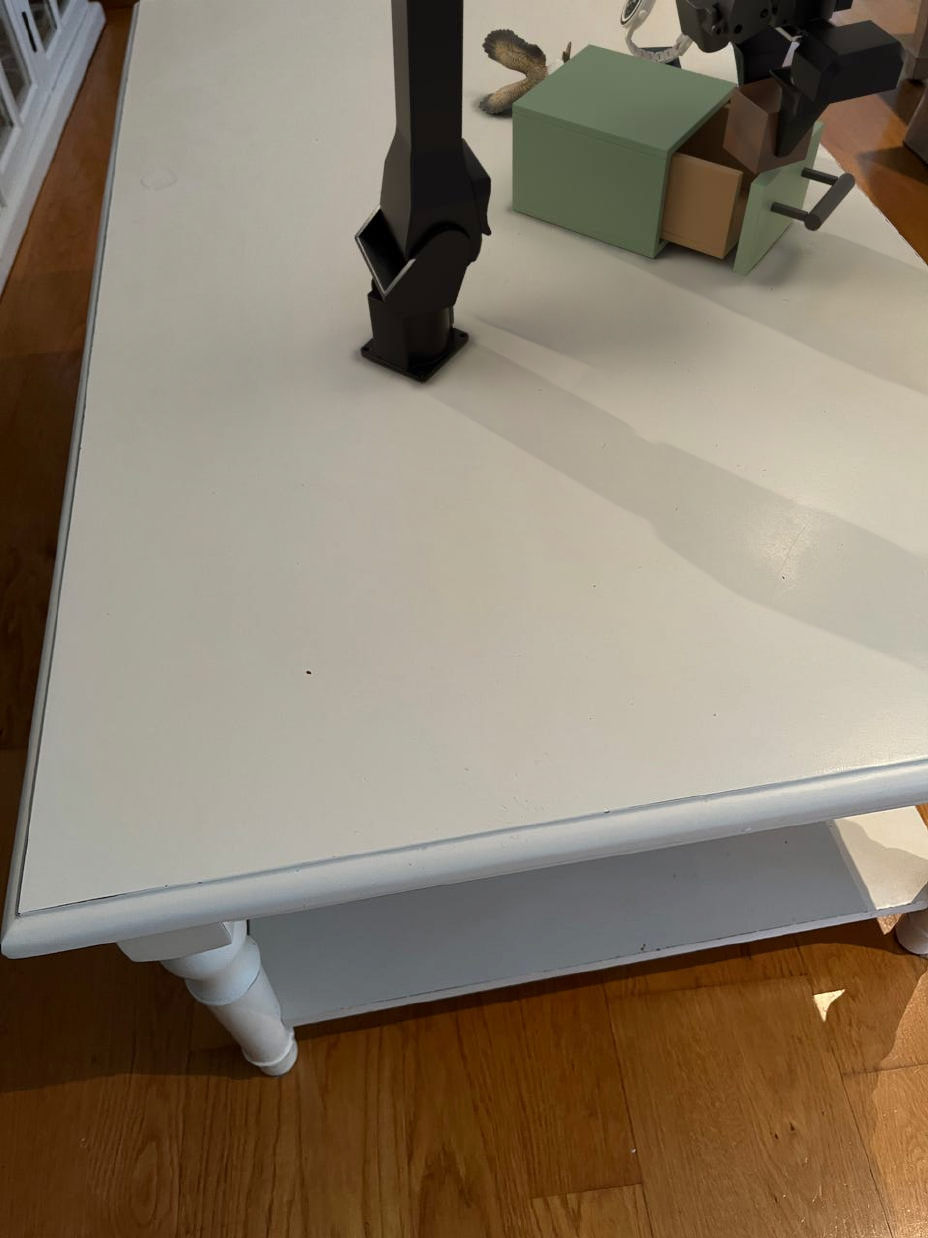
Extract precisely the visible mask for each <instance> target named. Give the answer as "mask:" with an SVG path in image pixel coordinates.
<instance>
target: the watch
mask: <svg viewBox="0 0 928 1238" xmlns="http://www.w3.org/2000/svg"><path fill="white" fill-rule="evenodd" d="M656 2H657V0H626V1H625V2H624V4H623V5H624V6H623V8H622V10H621V15H620V19H619V24H620V27H622V30H623V34H624V40H625V44H626V46H627V48H628V51H629V52H630V53H631V55H632V56H636V57H639V58H643V59H647V60H651V61H655V62H658V63H662V64H666V65H670V66H673V67H677V68H681V69H683V67H682V64H681V59H680V57H683V56H684V55H685V54H686V52H687V51H688V50H689V48H690V47H691V46H692V44H693V43H694V41H693V40H692V39H691V38H689V37H688V36H687V35H686V36H685V35H684V34H683V33H682V32H681V33H680V34H679V36H678V37H677V38H676V40H675V44H674V45H671V46H647V47H639V46H638V45H637V44H636V43H635V42H633V39H632V37H633V35H634V32H635V31H637V30H638V29H639V28H640V27H642V25H643V24H644V23H645V22H646V21H647V19H648V17H649V16H650V14H651V12H652V10H653V8H654V6H655V4H656Z"/></svg>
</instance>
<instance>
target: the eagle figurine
mask: <svg viewBox="0 0 928 1238" xmlns="http://www.w3.org/2000/svg"><path fill="white" fill-rule="evenodd" d="M483 40H484V42H483V43H482V44H481V47H482V48H483V51H484V53H486V54H487V58H489V59H490V60H492V61H494V62H496V63H498V64H500V65H502V67H504V68H506V69H508V70H511V71H516V72H518V73H520V74H523V75H524V76H525V77H524V78H523V79H521V80H519V81H516V82H513V83H510V84H507V85H504V86H502V87H500V88H499V89H497V90H496V91H495V92H491V93H489V94H486V97H483V98H482V100H481V101H479V102H478V108H480V110H482V111H484V113H488V114H498V113H500V112H504V111H505V110H507V109H511V108H513V103H514V102H516V101H517V100H518V99H519V98H521V97H522V96H523V95H525V94H526V93H527V92H528V91H530V90H531V89H532V88H534V87H535V86H536V85H537V84H539V83H540V82H541V81H543V80H544V79H545V78H546V77H548V76H549V75H550V74H552V73H553V72H554V71H555V70H557V69H558V68H559V67H561V66H562V65H563V64H564V63H566V62H567V61H568V60H569V59H571V51H572V41H568V43H567V46H566V49H565V50H563V51H562V52H561V54H562V55H561V57H557V58H556V59H555V60H553V62H551V63H550V64H549V65H548V66H547V65H546V64H547V55H546V54H545V53H544V51H543V50H542V49H541V47H539V45H538V44H536V43H534V44H533V43H529V42H527V41H525V39H524V38H522V37H519V35H518V34H515V31H513V29H509V28H503V29H502V28H499V29H495V30H491V31H490V33H487V34H486V37H484V39H483Z"/></svg>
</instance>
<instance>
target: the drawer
mask: <svg viewBox="0 0 928 1238" xmlns="http://www.w3.org/2000/svg"><path fill="white" fill-rule="evenodd" d="M729 109H730V104H729V103H725V104H724V105H723V106H722V107H721V108H720V109H719V110H718V111H717V112H716V113H715V114H714V115H713V116H712V117H711V118H709V119H708V120H707V121H706V122H705V123H704V124H703V125H702V126H701V127H700V128H699V129H698V130H697V131H696V132H695V133H694V134H693V135H692V136H691V137H690V138H689V139H688V140H686V141H685V142H684V143H683V144H682V145H681V146H680V147H679V148H678V149H677V150H676V151H675V152H674V153H673V154H672V155H671V158H670V166H669V173H668V180H667V187H666V194H665V202H664V209H663V216H662V223H661V231H660V238H662V239H665V240H668V241H669V242H671V243H674V244H677V245H680V246H683V247H686V248H688V249H692V250H694V251H697V252H700V253H704V254H706V255H709V256H712V257H715V258H718V259H721V260H723V259H725V257H726V256H727V255H728V254H729V253H730V251H731V250H732V249H733V248H734V247H735V246H736V245H737V243H738V245H737V249H736V250H737V251H736V253H735V258H734V265H733V267H732V268H733V269H732V272H733V273H736V274H739V275H741V276H744V277H746V276H747V275H748V274H749V272H751V270H752V269H753V268H754V267H755V266H756V265H757V263H759V261H760V260H761V259H762V258H763V256H764V255H766V253H767V251H769V249H770V248H771V247H772V246H773V245H774V244H775V242H776V241H777V240H778V239H779V238H780V236H781V235H782V234H783V233H784V232H785V230H786V229H787V228H789V226H790V225H791V224H792V223H793V221H795V220H797V221H800V222H802V223H803V225H804V227H805V228H806V229H807V230H808V231H811V232H816V231H819V229H820V228H821V227H822V226H823V224H824V223H826V221H827V220H828V218H829V217H830V216H831V215H832V214H833V212H834V211H835V210H836V209H837V208H838V206H839V205H840V204H841V202H843V201H844V199H845V198H846V197H847V195H848V194H849V193H850V192H851V191H852V189H853V188H854V187H855V186H856V178H855V176H854V175H853V174H852V173H851V172H844V173H842V174H840V175H839V176H838V175H833V174H830V173H828V172H823V171H820V170H817V169H814V166H815V162H816V159H817V155H818V150H819V147H820V143H821V140H822V136H823V131H824V127H825V123H826V122H825V121H820V120H817V121H816V122H815V124H814V128H813V132H812V136H811V140H810V144H809V148H808V152H807V156H806V159H805V160H803V161H799V162H796V163H793V164H789V165H786V166H783V167H779V168H776V169H773V170H769V171H766V172H763V173H760V174H754V173H753V172H752V171H751V170H750V169H748V168H747V167H746V166H745V165H744V164H742V163H741V162H740V161H739V160H738V159H736V158H735V157H734V156H733V155H732V154H730V153H729V152H728V151H727V150H726V149H724V148H723V143H724V138H725V132H726V126H727V121H728V115H729ZM810 181H814V182H816V183H817V182H818V183H821V184H824V185H828V186H830V187H829V189H827V191H826V192H825V193H824V195H822V197H821V198H820V199H819V200H818V202H817V203H816V204H815V205H814V206H813V208H812V209H811V210H810V211H806V210H803V208H804V203H805V199H806V196H807V192H808V189H809V185H810Z"/></svg>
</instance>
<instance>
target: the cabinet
mask: <svg viewBox="0 0 928 1238" xmlns="http://www.w3.org/2000/svg"><path fill="white" fill-rule="evenodd" d="M681 68H682V67H681ZM681 68H677V67H673V66H670V65H666V64H662V63H658V62H655V61H651V60H647V59H643V58H639V57H636V56H633V54H628V53H624V52H620V51H617V50H612V49H608V48H606V47H601V46H598V45H594V44H591V43H590V44H587V45H586V46H584V47H583V48H582V49H581V50H580V51H578V52H577V53H576V54H575V55H573V56H572V57H570V59H569V60H568V61H567V62H566V63H564V64H563V65H562V66H561V67H559V68H558V69H557V70H555V71H554V72H553V73H552V74H550V75H549V76H548V77H546V78H545V79H544V80H543V81H541V82H540V83H539V84H537V85H536V86H535V87H534V88H532V89H531V90H530V91H528V92H527V93H526V94H525V95H523V96H522V97H521V98H519V99H518V100H517V101H516V102H514V103H513V106H512V121H511V122H512V126H511V127H512V130H511V131H512V133H511V134H512V141H511V143H512V145H511V146H512V147H511V148H512V149H511V150H512V157H511V158H512V159H511V160H512V161H511V162H512V165H511V166H512V167H511V168H512V170H511V171H512V174H511V175H512V176H511V179H512V181H511V182H512V183H511V184H512V185H511V186H512V187H511V192H512V193H511V206H512V207H511V210H512V211H514V212H515V211H516V212H518V213H521V214H524V215H527V216H530V217H532V218H536V219H538V220H541V221H543V222H548V223H550V224H552V225H555V226H558V227H560V228H564V229H567V230H570V231H573V232H575V233H578V234H582V235H584V236H587V237H589V238H593V239H596V240H598V241H602V242H604V243H607V244H611V245H613V246H616V247H617V248H618V247H619V248H621V249H623V250H628V251H630V252H633V253H636V254H638V255H641V256H645V257H647V258H651V259H654V258H655V257H656V256H657V255H658V254H659V253H660V252H661V251H662V250H663V249H664V248H665V247H666V246H667V245H668V244H669V243H670V241H668V240H665V239H662V238H660V231H661V223H662V216H663V209H664V202H665V194H666V187H667V180H668V173H669V166H670V158H671V155H672V154H673V153H674V152H675V151H676V150H677V149H678V148H679V147H680V146H681V145H682V144H683V143H684V142H685V141H686V140H688V139H689V138H690V137H691V136H692V135H693V134H694V133H695V132H696V131H697V130H698V129H699V128H700V127H701V126H702V125H703V124H704V123H705V122H706V121H707V120H708V119H709V118H711V117H712V116H713V115H714V114H715V113H716V112H717V111H718V110H719V109H720V108H721V107H722V106H723V105H724V104H725V103H729V104H731V98H732V93H733V88H735V87H738V82H734V81H728V80H726V79H722V78H718V77H715V76H710V75H707V74H703V73H699V72H696V71H693V70H692V71H691V70H688V69H685V68H682V69H681Z"/></svg>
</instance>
